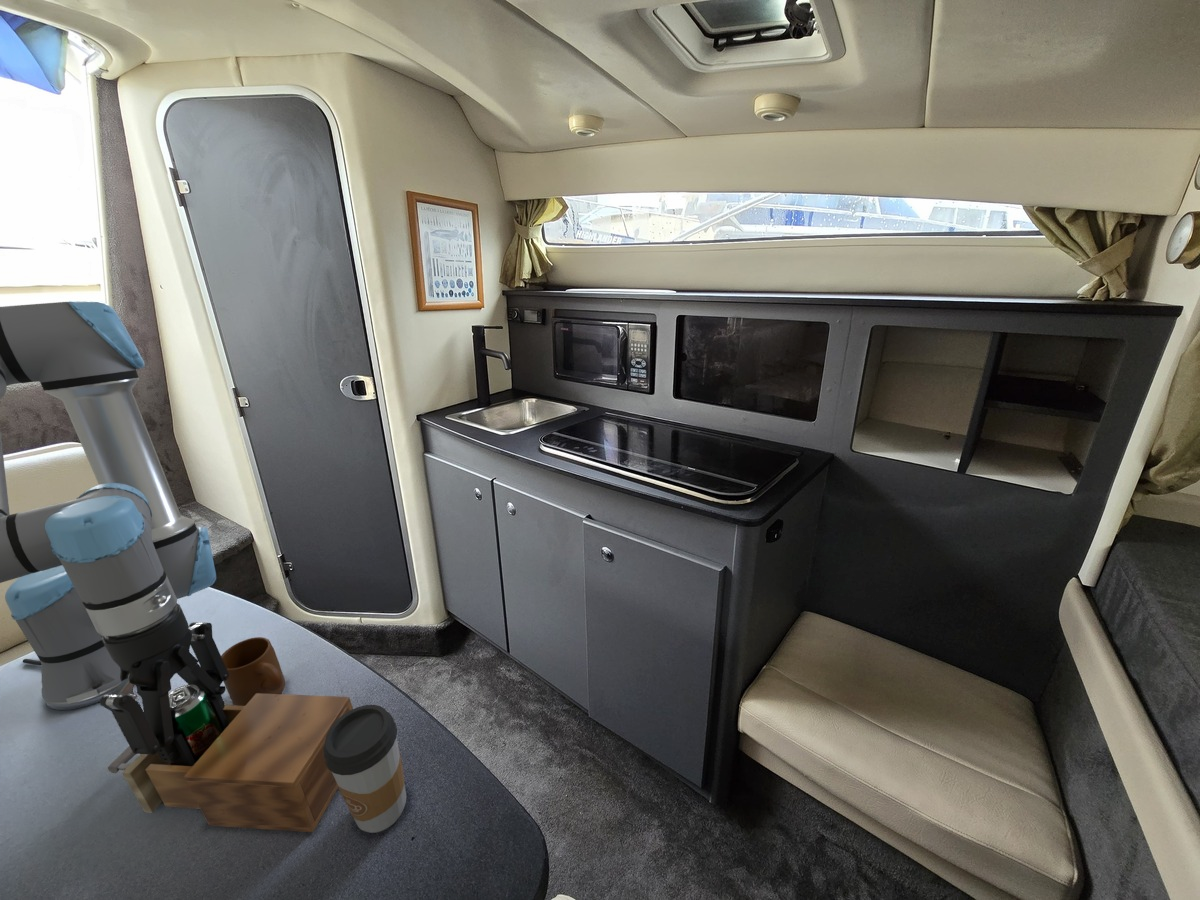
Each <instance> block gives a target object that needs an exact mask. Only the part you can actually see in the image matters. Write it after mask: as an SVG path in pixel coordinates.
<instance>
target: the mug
mask: <svg viewBox="0 0 1200 900" xmlns="http://www.w3.org/2000/svg"><path fill="white" fill-rule="evenodd" d="M220 655H221V657H222V660H223V662H224V664H225V666H226V668H227V671H228V673H229V677H228V679H227V680H226V681H223V682H222V683H223V684H224V686H225V687H226V689H225V690H226V691H227V693H228V695H229V697H230V699H231V702H232V704H233V705H234V706H246V705H247V703H248V702H249V701H250V700H251V699H252V698H253V697H254V695H255V694H256V693H261V694H283V692H284V689H285V686H286V680H285V677H284V673H283V670H282V667H281V665H280V662H279V659H278V656H277V653H276V650H275V649H274V646H273V645H272V643H271V641H270V639H268V638H266V637H263V636H255V637H251V638H247V639H243V640H241V641H239V642H237V643H235V644H233V645H232V646H230V647H228V648H227V649H226V650H225V651H224V652H223V653H222V654H220Z"/></svg>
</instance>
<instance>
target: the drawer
mask: <svg viewBox="0 0 1200 900" xmlns="http://www.w3.org/2000/svg"><path fill="white" fill-rule="evenodd" d="M244 707H245V706H234V704H233V705H232V704H231V705H230V704H225V707H224V708H223V712H224V715H225V717H226V719H227V721H228V724H230V723H231V722H232V721H233V720H234V718H235V717H236V716H237V715H238V714H239V713H240V711H241V710H242V709H243V708H244ZM135 755H136V754H134V753H133V752H132V750H131V748H130V746H129V745H128V747H126V749H124V750H123V751H122V753H120V754H119V755H118V756H117V758H115V759H114V760H113V761H112V762H111V763H110V764H109V765H108V766H107V767H106V768H107V770H108V772H110V773H112V774H117V773H118V772H119V771H122V772H121V774H122V776H123V778H124V780H125V781H126V783H127V785H128V786H129V788H130V790H131V792H132V794H133V795H134V796H135V798H136V800H137V802H138V803H139V805H140V807H141V809H142V810H143V812H144V813H148V814H149V813H151V814H152V813H154V812H155V811H156V810H157V809H158V807H159V806H160V805H161V804H162V803H163V805H164V806H165V807H167V808H185V809H199V810H201V809H200V807H199V805H198V803H197V801H196V799H195V797H194V796H193V794H192V792H191V790H190V788H189V786H188V784H187V782H186V780H185V778H184V776H185V775H186V774H187V772H188V771H189V770H190V769H191V768H192V767H193V766H177V765H171V763H170V762H163V761H161V759H160V757H159V755H158V753H156V754H138V756H137V757H136V758H135V759H134V760H133V761H132V762H131V763H128V762H129V761H130V760H132V759H133V757H134V756H135Z"/></svg>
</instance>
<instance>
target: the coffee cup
mask: <svg viewBox="0 0 1200 900" xmlns="http://www.w3.org/2000/svg"><path fill="white" fill-rule="evenodd" d="M324 758H325V764H326V766H327V767H328V769H329V770H330V771H331V772H332V774H333V776H334V778H335V780H336V782H337V786H338V791H339V792H340V795H341V797H342V798H343V800H344V803H345V805H346V807H347V810H349V813H350V815H351V816H352V817H353V819H354V822H355V823H356V826H357V828H359V829H360V830H361V831H363V832H366V833H370V834H373V833H376V834H377V833H380V832H383V831H385V830H387V829H388V828H390V827H391V826H392V825H394V824H395V823H396V822H397V821H398V819H399V818H400V816H401V815H402V813H403V812H404V809H405V806H406V804H407V791H406V785H405V775H404V769H403V768H404V767H403V762H402V756H401V751H400V747H399V743H398V727H397V723H396V722H395V720H394V717H393V716H392V714H391V713H390V712H389V711H388V710H386V709H385V708H384V707H382V706H381V705H376V704H364V705H360V706H357V707H355V708H353V710H350V711H349V712H347V713H345V714H344V715H342V716H341V717H340V718H339V719H338V720H337V721H336V722H335V723H334V724H333V725H332V726H331V728H330V729H329V731H328V733H327V736H326V739H325V745H324Z"/></svg>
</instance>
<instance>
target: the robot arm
mask: <svg viewBox="0 0 1200 900" xmlns="http://www.w3.org/2000/svg"><path fill="white" fill-rule="evenodd" d="M145 367H146V362H145V360H144V359H143V357H142V355H141V353H140V351H139V349H138V347H137V345H136V343H135V342H134V340H133V338H132V337H131V335H130V333H129V331H128V330H127V328H126V326H125V324H124V323H123V321H122V320H121V317H119V315H118V313H117V311H116V310H115V309H114V308H113V307H112V306H111V304H108V303H106V302H103V301H99V300H98V301H97V300H93V301H92V300H89V301H88V300H84V301H83V300H82V301H81V300H79V301H77V300H75V301H73V300H68V301H58V302H45V303H44V302H43V303H31V304H18V305H5V306H4V305H3V306H0V400H1V399H3V398H4V396H5V395H6V393H7V389H8V388H7V386H11V385H12V386H13V385H17V384H26V383H37V382H39V383H40V385H41V387H42V390H43V392H44V394H47V395H49V396H51V397H53V398H56V399H59V400H60V401H61V402H62V404H63V406H64V407H65V410H66V412H67V415H68V417H69V419H70V421H71V424H72V425H73V428H74V431H75V433H76V435H77V438H78V440H79V442H80V445H81V448H82V449H83V451H84V454H85V456H86V458H87V460H88V463H89V466H90V468H91V470H92V473H93V474H94V477H95V480H96V482H97V484H98V485H95V486H92V487H90V488H89V489H87V490H85V491H84V492H83V493H81V494H79V496H78V497H76V499H71V500H67V501H62V502H59V503H54V504H50V505H46V506H42V507H37V508H33V509H29V510H25V511H21V512H16V513H12V514H10V505H9V504H10V503H9V497H8V487H7V476H6V468H5V459H4V451H3V440H2V432H1V429H0V584H2V583H6V582H9V581H13V580H14V581H13V582H12V583H11V584H10V586H9V587H8V588H7V589H6V592H5V595H4V599H5V602H6V605H7V607H8V609H9V610H10V616H11V619H12V620H14V621H15V622H16V624H17V626H18V627H19V629H20V630H21V632H22V633H23V635H24V637H25V638H26V640H27V642H28V643H29V646H31V648H32V650H33V652H34V653H35V655H36V656H37V658H38V660H36V659H30V658H24V659H22V663H23V664H29V665H34V666H41V697H42V699H43V701H44V702H45V704H46V705H47V707H49V708H50V709H52V710H56V711H69V710H70V711H71V710H75V709H81V708H84V707H89V706H91V705H94V704H97V703H99V706H102V707H103V708H105V709H107V710H108V711H110V712H111V714H112V716H113V717H114V719H115V721H116V723H117V726H118V727H119V729H120V730H121V733H122V735H123V736H124V739H125V740H126V743H127V744H128V747H129V746H130V748H131V750H132V752H133V753H134V754H135V755H137V754H138V755H140V754H156V753H158V755H159V757H160V759H161V761H163V762H170V763H171V765H177V766H193V765H194V764H195V763H196V762H195V760H194V758H193V756H192V754H191V752H190V750H189V748H188V746H187V744H186V742H185V740H184V738H183V736H182V734H174V731H173V724H172V716H171V709H170V701H169V694H168V693H170V692H171V691H172V682H171V679H172V678H173V677H174V676H175V675H178V676H179V678H181V679H182V680H183V681H184V682H185V683H186V684H187V685H189V684H195V685H197V686H199V688H202V689H204V691H205V692H206V695H207V697H208V699H209V701H210V703H211V706H212V708H213V710H214V712H215V714H216V717H217V719H218V721H219V723H220V725H221V728H222V730H223V731H224V730H225V729H226V728H227V726H228V725H229V724H228V721H227V719H226V717H225V715H224V712H223V708H224V707H225V705H226V703H225V701H224V699H223V696H222V695H224V694H225V692H226V690H227V689H226V686H225V685H222V683H224V682H223V681H226V680H227V679H228V677H229V673H228V671H227V668H226V666H225V664H224V662H223V660H222V657H221V655H222V654H221V653H220V650H219V649H218V647H217V644H216V642H215V640H214V636H213V624H212V623H211V622H197V621H194V622H193V621H192V622H191V623H190V624H189V622H188V620H187V617H186V615H185V613H184V611H183V609H182V607H181V605H180V604H179V603H178V600H179V599H182V598H185V597H190V596H192V595H193V594H196V593H198V592H200V591H203V590H205V589H207V588H209V587H212V586H213V585H214V584H215V582H216V581H217V572H216V567H215V562H214V556H213V552H212V546H211V541H210V536H209V530H208V528H207V526H198V527H197V525H196V522H195V520H194V519H193V518H190V517H187V516H184V515H182V514H181V512H180V510H179V506H178V504H177V502H176V499H175V497H174V494H173V492H172V490H171V487H170V484H169V482H168V479H167V477H166V474H165V471H164V469H163V466H162V464H161V461H160V459H159V456H158V454H157V451H156V448H155V446H154V444H153V441H152V439H151V436H150V434H149V430H148V428H147V426H146V423H145V421H144V418H143V415H142V413H141V410H140V408H139V405H138V403H137V400H136V398H135V396H134V392H133V389H134V388H135V386H136V384H137V383H138V382H139V381H140V377H139V374H138V372H137V370H141V369H143V368H145ZM190 648H191V649H192V651H193V654H194V655H195V656H194V655H193V654H192V653H191V652H190ZM135 686H136V693H137V694H135V692H134V687H135ZM138 696H139V697H140V698H141V703H142V705H141V704H140V703H139V702H138V701H137V700H136V699H138Z"/></svg>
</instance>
